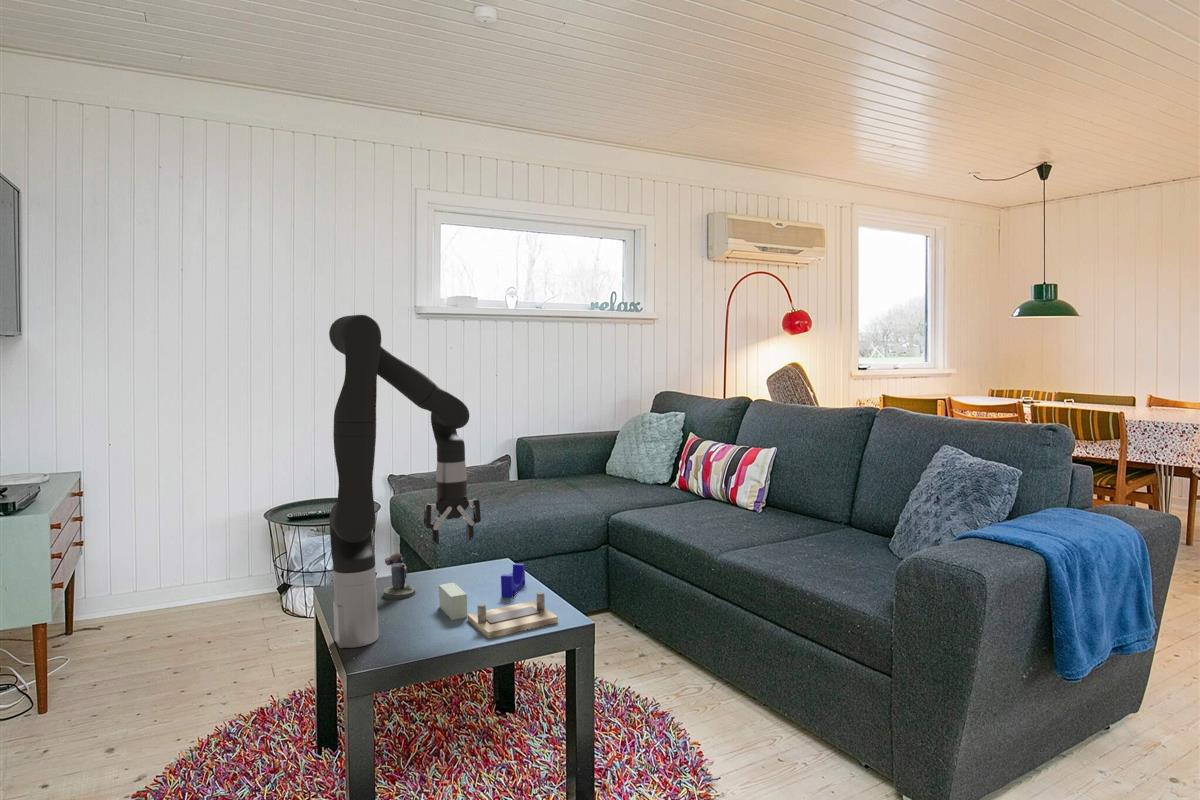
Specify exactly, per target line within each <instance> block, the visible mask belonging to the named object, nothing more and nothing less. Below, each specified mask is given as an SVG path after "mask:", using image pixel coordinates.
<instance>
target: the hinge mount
mask: <svg viewBox="0 0 1200 800" xmlns="http://www.w3.org/2000/svg"><path fill="white" fill-rule="evenodd" d="M535 594H536V595H535V596H536V601H535V600H530V601H525V602H521V603H516V604H511V605H506V606H502V607H496V608H492V609H487V605H486V604H483V603H481V604H478V605H477V606H476V607H477V612H472V613H467V622H469V623H470V624H471V625H472V626H473V627H475V628H476V629H477V631H479V632H480V633H481V634H482V635H484V637H486V638H487V639H492V638H498V637H502V636H506V635H511V634H515V633H519V631H520V632H524V631H528V630H532V629H531V628H533V629H535V628H534V627H537V628H540V627H539V626H541V627H545V626H544V625H546V626H549V625H548V624H550V625H553V624H554V623H555V624H558V623H559V617H558V616H557V615H556V614H554V613H553V612H552V611H550V610H548V609H547V608H546V606H545V604H546V603H545V601H546V600H545V598H546V597H545V596H546V595H545V592H537V593H535ZM527 629H528V630H527ZM523 630H524V631H523Z"/></svg>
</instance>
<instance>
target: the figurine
mask: <svg viewBox="0 0 1200 800" xmlns="http://www.w3.org/2000/svg"><path fill="white" fill-rule="evenodd" d="M405 558H406V557H403V555H402V553H399V552H395V553H393V554H391V556H389V557H386V558H385V559H384V563H385V565H387V566H391V570H390V572H391V586H388V587H386V588H384V589H383V598H384V599H387V598H388V599H387V600H402V598H404V599H408V598H411V597H412V595H413V596H414V595H416V587H414V586H413V585H411V584H406V579H407V576H408V574H407V569H408V567H407V566H406V563H404V562H406V561H405ZM410 596H411V597H410ZM407 597H408V598H407Z"/></svg>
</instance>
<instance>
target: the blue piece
mask: <svg viewBox="0 0 1200 800" xmlns="http://www.w3.org/2000/svg"><path fill="white" fill-rule="evenodd" d="M525 570H526V567H525V563H517V562H516V563H513V564H512V573H510V572H509V574H507V573H506V574H505V573H504V574H501V575H500V590H501V598H513V597H514V596H515V595H516V594H517V593H518V592H519V591H520V590H521V589H522V588H523V587H524V585H525V584H526V573H525V572H526V571H525ZM521 587H522V588H521ZM520 588H521V589H520ZM519 589H520V590H519ZM518 590H519V591H518ZM517 591H518V592H517ZM516 592H517V593H516ZM515 593H516V594H515ZM514 594H515V595H514ZM513 595H514V596H513ZM512 596H513V597H512Z"/></svg>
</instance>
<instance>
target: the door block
mask: <svg viewBox="0 0 1200 800" xmlns="http://www.w3.org/2000/svg"><path fill="white" fill-rule="evenodd" d="M438 593H439V594H438V597H439V608H440V609H441V610H442V611H443V612H444V613H445V615H447V617H449V618H450V620H451V621H454V620H460V619H464V618H468V616H467V614H468V597H467V596H468V594H467V592H465V591H464V590H463V589H462V588H461V587H459V586H458V585H457V583H455V582H448V583H443V584H439V585H438Z"/></svg>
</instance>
